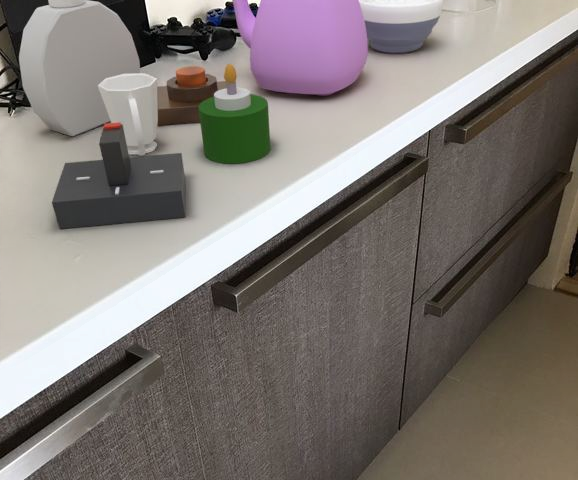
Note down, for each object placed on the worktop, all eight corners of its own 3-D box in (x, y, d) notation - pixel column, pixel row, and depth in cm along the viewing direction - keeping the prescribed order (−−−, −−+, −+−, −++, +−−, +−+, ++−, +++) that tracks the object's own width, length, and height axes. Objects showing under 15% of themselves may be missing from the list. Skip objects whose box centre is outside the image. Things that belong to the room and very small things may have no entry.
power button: (177, 89, 90) (175, 75, 89) (177, 80, 93) (175, 67, 92) (206, 87, 91) (205, 73, 89) (206, 78, 94) (204, 65, 92)
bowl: (344, 56, 111) (345, 5, 106) (364, 34, 122) (366, -14, 117) (431, 61, 108) (436, 8, 103) (444, 37, 118) (449, -12, 113)
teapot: (385, 64, 107) (391, -46, 97) (343, 107, 93) (344, -17, 83) (257, 55, 114) (250, -49, 104) (200, 93, 100) (185, -22, 90)
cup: (164, 134, 88) (153, 69, 82) (174, 163, 80) (163, 94, 75) (110, 142, 86) (96, 76, 81) (116, 171, 79) (100, 101, 74)
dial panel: (59, 229, 69) (51, 200, 66) (71, 188, 76) (64, 161, 74) (185, 217, 69) (180, 188, 67) (185, 178, 77) (181, 151, 75)
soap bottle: (60, 143, 87) (12, -35, 74) (35, 135, 89) (-15, -38, 76) (150, 107, 96) (122, -57, 83) (126, 101, 99) (94, -59, 86)
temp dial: (128, 184, 69) (118, 139, 66) (108, 186, 69) (98, 140, 66) (131, 165, 73) (122, 121, 70) (112, 166, 73) (102, 123, 69)
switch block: (151, 126, 90) (146, 95, 88) (154, 102, 98) (149, 73, 95) (239, 119, 91) (237, 88, 88) (235, 95, 98) (232, 67, 96)
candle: (203, 165, 79) (191, 77, 73) (205, 139, 86) (194, 56, 79) (272, 161, 80) (266, 72, 73) (268, 135, 86) (263, 52, 79)
